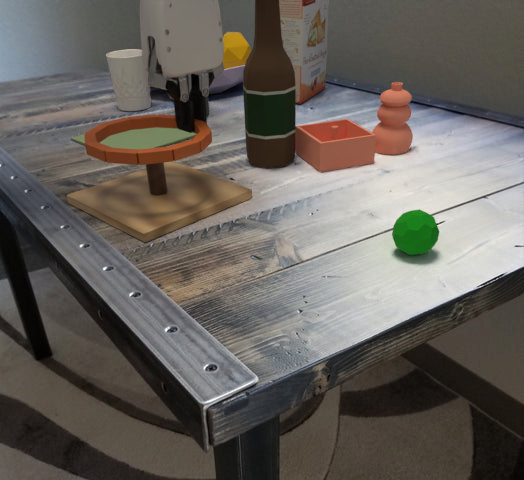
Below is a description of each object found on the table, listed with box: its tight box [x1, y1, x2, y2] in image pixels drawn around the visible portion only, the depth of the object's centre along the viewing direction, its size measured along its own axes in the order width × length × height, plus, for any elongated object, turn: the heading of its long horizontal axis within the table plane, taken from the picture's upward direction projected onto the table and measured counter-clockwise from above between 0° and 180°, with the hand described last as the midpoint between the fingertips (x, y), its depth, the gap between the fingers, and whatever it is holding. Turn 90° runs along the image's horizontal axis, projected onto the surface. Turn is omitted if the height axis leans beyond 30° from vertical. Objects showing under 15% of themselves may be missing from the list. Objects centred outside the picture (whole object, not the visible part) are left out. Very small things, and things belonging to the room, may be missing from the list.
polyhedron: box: [391, 208, 440, 257], centre depth 64 cm, size 5×5×5 cm
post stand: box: [65, 160, 253, 243], centre depth 78 cm, size 18×18×6 cm
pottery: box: [295, 81, 414, 173], centre depth 89 cm, size 18×10×10 cm, turn 110°
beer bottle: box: [242, 0, 297, 170], centre depth 84 cm, size 8×8×24 cm
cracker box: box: [279, 0, 330, 105], centre depth 116 cm, size 14×6×21 cm, turn 154°
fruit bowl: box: [163, 31, 252, 95], centre depth 128 cm, size 28×27×11 cm
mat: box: [70, 127, 197, 150], centre depth 102 cm, size 16×16×1 cm
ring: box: [83, 113, 213, 166], centre depth 75 cm, size 16×16×1 cm
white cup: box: [105, 48, 152, 112], centre depth 116 cm, size 8×8×10 cm
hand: (192, 127), depth 79 cm, fingers closed on ring, 1 cm apart
